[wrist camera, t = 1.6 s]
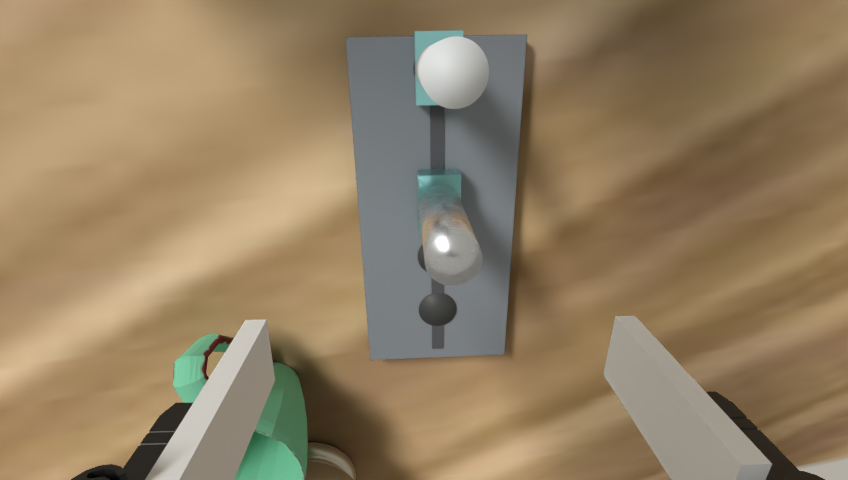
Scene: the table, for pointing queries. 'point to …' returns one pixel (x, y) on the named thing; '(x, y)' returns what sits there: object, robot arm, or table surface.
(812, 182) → the table surface
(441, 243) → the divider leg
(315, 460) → the teapot
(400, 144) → the grey and teal piece
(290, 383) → the mug
